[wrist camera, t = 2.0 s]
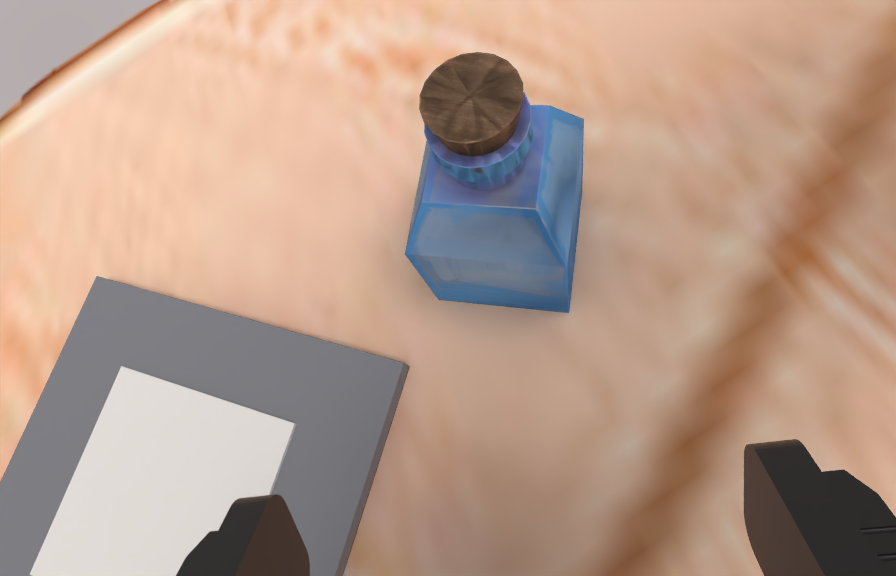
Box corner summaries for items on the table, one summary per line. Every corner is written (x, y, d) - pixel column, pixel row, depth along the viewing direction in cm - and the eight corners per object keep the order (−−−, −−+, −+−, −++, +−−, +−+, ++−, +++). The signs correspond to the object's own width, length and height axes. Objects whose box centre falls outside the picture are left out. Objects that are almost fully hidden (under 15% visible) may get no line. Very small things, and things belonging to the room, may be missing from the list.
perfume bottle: (582, 190, 29) (586, 9, 18) (568, 312, 27) (564, 196, 16) (458, 184, 31) (391, 12, 19) (439, 299, 29) (352, 184, 18)
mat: (409, 366, 28) (402, 362, 27) (270, 798, 24) (255, 814, 23) (110, 281, 33) (94, 274, 32) (-50, 627, 29) (-75, 633, 28)
